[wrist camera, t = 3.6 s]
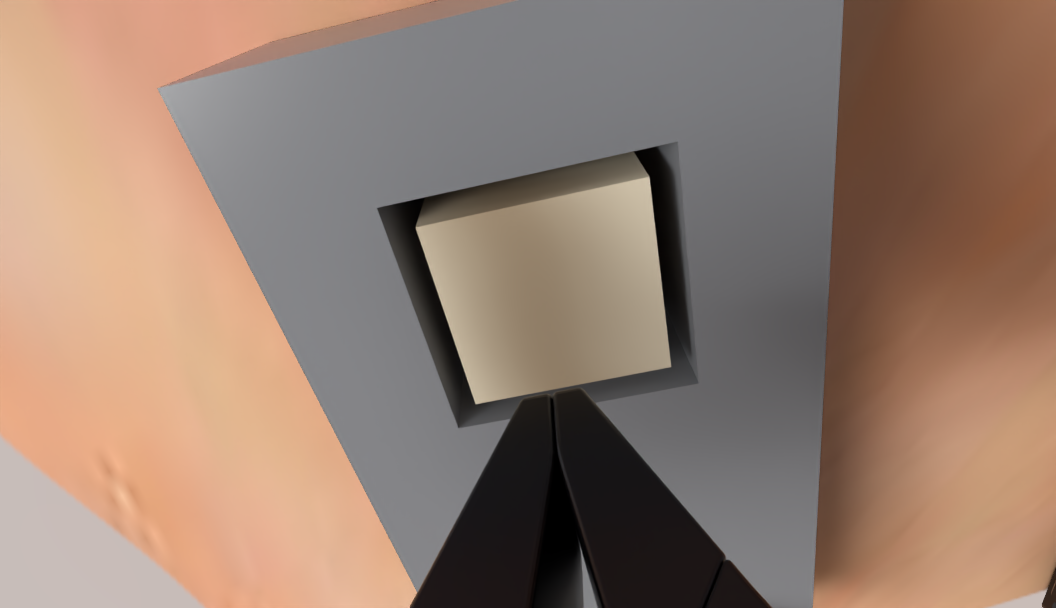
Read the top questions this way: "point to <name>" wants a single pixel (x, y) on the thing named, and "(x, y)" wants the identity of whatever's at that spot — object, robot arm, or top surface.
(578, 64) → the collar block
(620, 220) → the birch peg
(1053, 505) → the top surface
